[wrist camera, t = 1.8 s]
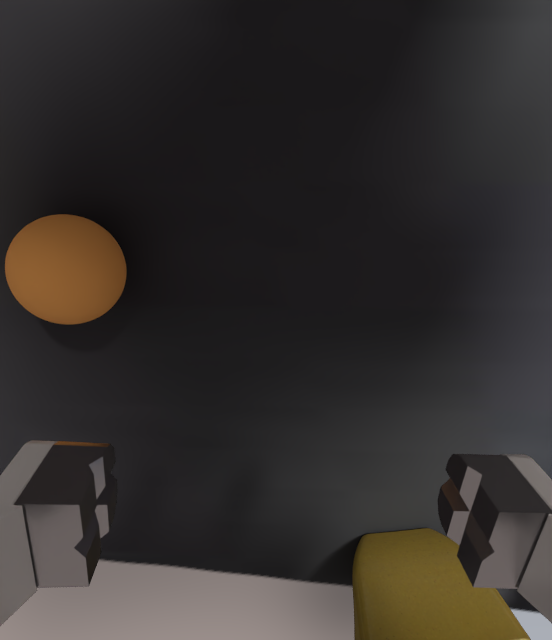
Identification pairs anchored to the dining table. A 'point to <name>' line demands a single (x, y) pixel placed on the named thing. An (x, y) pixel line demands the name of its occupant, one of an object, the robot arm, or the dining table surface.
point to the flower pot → (423, 592)
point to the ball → (65, 269)
